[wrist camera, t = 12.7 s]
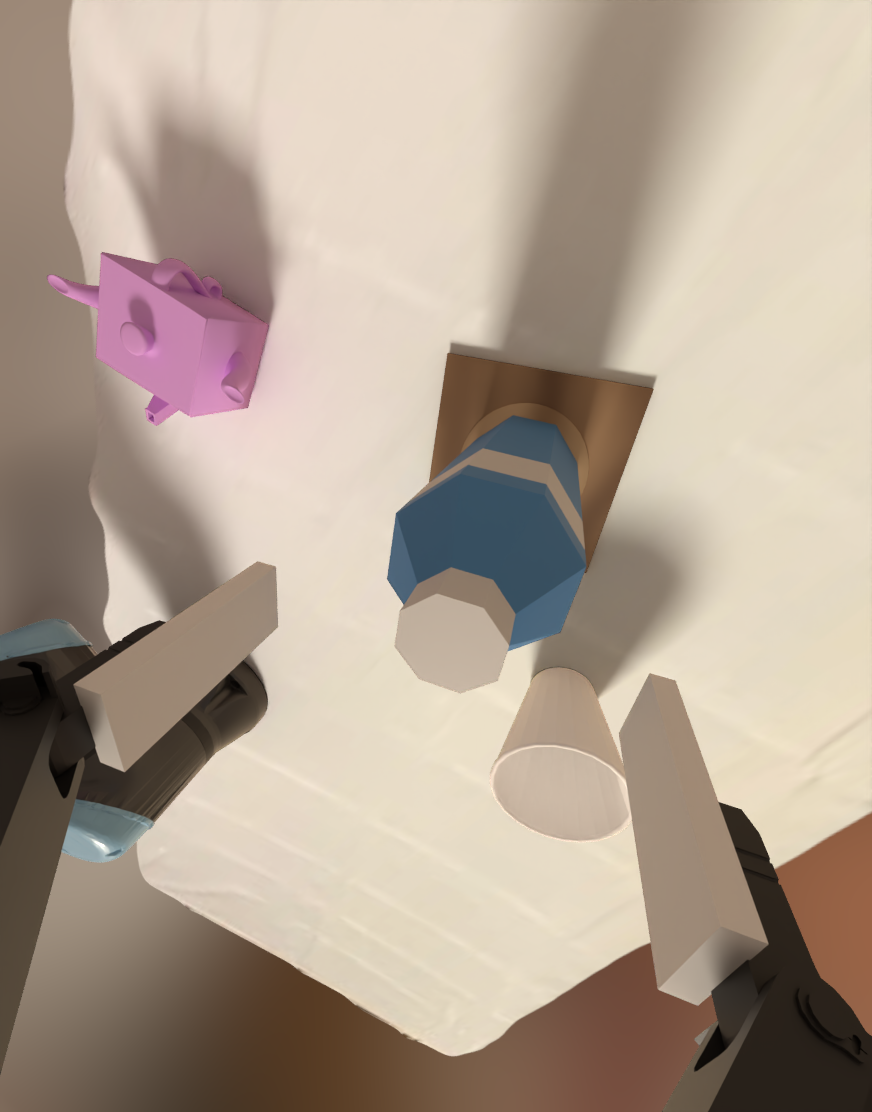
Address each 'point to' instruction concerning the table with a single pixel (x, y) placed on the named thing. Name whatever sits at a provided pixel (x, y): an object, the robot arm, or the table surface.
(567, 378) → the plate
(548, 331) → the table surface
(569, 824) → the cup
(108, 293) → the teapot
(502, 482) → the water bottle
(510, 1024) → the table surface
